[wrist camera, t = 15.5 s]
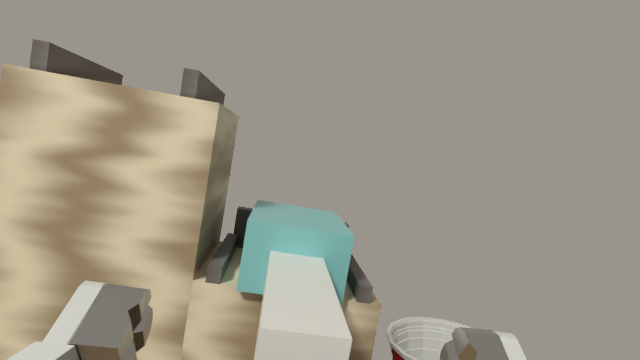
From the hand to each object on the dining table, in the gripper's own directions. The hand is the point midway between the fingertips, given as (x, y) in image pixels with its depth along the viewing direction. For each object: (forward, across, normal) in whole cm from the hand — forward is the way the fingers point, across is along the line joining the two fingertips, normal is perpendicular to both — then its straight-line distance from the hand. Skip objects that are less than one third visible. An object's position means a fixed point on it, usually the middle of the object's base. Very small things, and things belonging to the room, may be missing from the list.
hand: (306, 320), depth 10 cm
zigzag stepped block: (+3, -5, -27) cm, 28 cm away
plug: (+7, 0, -9) cm, 11 cm away
